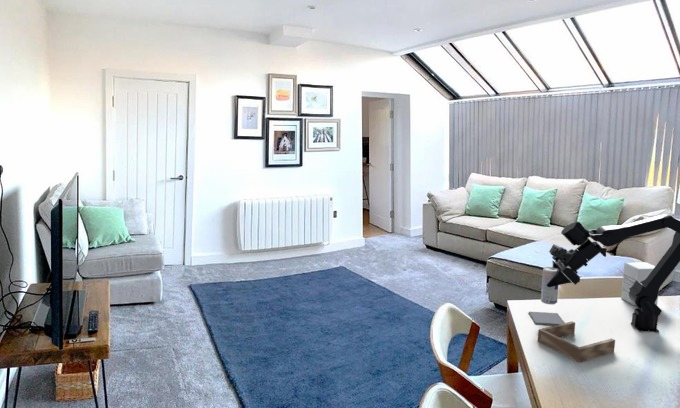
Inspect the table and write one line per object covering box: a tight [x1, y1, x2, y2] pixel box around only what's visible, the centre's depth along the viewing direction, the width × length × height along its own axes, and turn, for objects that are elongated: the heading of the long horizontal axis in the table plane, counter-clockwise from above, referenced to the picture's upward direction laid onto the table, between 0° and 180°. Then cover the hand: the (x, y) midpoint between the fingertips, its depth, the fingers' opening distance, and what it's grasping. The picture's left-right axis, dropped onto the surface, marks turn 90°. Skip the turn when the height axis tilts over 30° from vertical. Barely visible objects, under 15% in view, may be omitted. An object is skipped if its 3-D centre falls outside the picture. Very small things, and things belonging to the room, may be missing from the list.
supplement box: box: [620, 261, 659, 307], centre depth 188 cm, size 9×9×15 cm
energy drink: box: [540, 266, 559, 305], centre depth 170 cm, size 5×5×12 cm
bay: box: [537, 321, 616, 363], centre depth 151 cm, size 15×15×4 cm
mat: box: [528, 311, 566, 326], centre depth 173 cm, size 10×10×1 cm
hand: (546, 283), depth 170 cm, fingers closed on energy drink, 5 cm apart
